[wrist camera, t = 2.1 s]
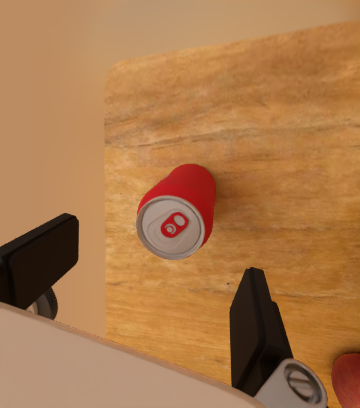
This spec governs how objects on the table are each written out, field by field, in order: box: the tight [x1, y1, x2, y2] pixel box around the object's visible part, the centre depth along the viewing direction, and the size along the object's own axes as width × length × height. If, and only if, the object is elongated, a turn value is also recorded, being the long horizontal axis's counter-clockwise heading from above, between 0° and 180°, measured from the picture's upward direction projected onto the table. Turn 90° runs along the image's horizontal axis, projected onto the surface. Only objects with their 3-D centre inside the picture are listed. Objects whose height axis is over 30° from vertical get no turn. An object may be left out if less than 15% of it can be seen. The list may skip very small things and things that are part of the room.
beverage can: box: [136, 164, 216, 260], centre depth 21 cm, size 6×6×12 cm
